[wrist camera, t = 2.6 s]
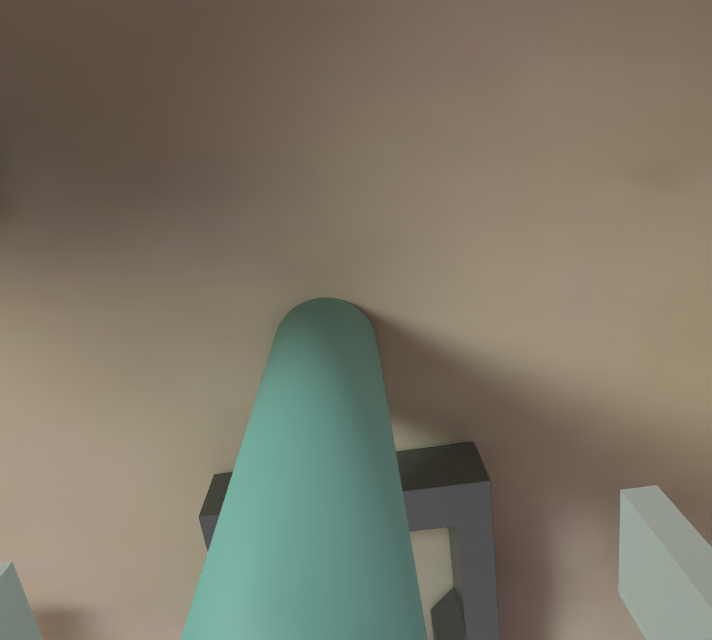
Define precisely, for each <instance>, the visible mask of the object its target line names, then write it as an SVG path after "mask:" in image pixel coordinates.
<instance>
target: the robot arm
mask: <svg viewBox="0 0 712 640" xmlns="http://www.w3.org/2000/svg"><path fill="white" fill-rule="evenodd" d="M618 593H619V595H620V597H621V598H622V600H623V602H624V604H625V605H626V607H627V609H628V610H629V612H630V614H631V615H632V617H633V619H634V620H635V622H636V624H637V626H638V627H639V629H640V631H641V632H642V634H643V636H644V637H645V639H646V640H712V547H711V546H710V545H709V544H708V543H707V541H706V540H705V539H704V538H703V537H702V536H701V535H700V534H699V532H698V531H697V530H696V529H695V528H694V527H693V526H692V524H691V523H690V522H689V521H688V520H687V519H686V518H685V516H684V515H683V514H682V513H681V512H680V511H679V510H678V509H677V507H676V506H675V505H674V504H673V503H672V502H671V501H670V499H669V498H668V497H667V496H666V495H665V494H664V493H663V492H662V490H661V489H660V488H659V487H658V486H657V485H655V486H646V487H638V488H630V489H621V490H620V539H619V591H618ZM0 640H43V639H42V637H41V634H40V631H39V629H38V626H37V624H36V621H35V619H34V616H33V614H32V611H31V608H30V606H29V603H28V601H27V598H26V596H25V593H24V591H23V588H22V585H21V583H20V580H19V578H18V575H17V573H16V570H15V567H14V565H13V562H5V563H0Z"/></svg>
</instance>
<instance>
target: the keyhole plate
mask: <svg viewBox="0 0 712 640" xmlns="http://www.w3.org/2000/svg"><path fill="white" fill-rule="evenodd" d="M396 456H397V462H398V468H399V474H400V480H401V486H402V491H403V497H404V503H405V509H406V515H407V521H408V527H409V532H410V531H418V530H426V529H434V528H442V527H449V538H450V548H451V559H452V570H453V581H454V588H453V589H451V590H450V591H449V592H448V593H447V594H446V595H445V596H444V597H443V598H442V599H441V600H440V601H439V602H438V603H437V604H436V605H435V606H434V607H433V608H432V609H431V618H432V628H433V637H434V640H500V635H499V619H498V602H497V586H496V570H495V553H494V537H493V520H492V504H491V488H490V479H489V477H488V475H487V472H486V470H485V467H484V465H483V463H482V460H481V458H480V456H479V453H478V451H477V448H476V446H475V444H474V442H469V443H461V444H453V445H445V446H437V447H429V448H421V449H413V450H405V451H398V452H396ZM232 473H233V472H230V473H222V474H214V476H213V479H212V482H211V484H210V487H209V490H208V493H207V495H206V498H205V501H204V504H203V506H202V509H201V512H200V515H199V520H200V524H201V528H202V532H203V535H204V539H205V543H206V547H207V551H208V550H209V547H210V544H211V541H212V538H213V534H214V531H215V528H216V525H217V521H218V518H219V515H220V512H221V509H222V505H223V502H224V499H225V496H226V493H227V489H228V486H229V483H230V480H231V477H232Z"/></svg>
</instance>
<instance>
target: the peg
mask: <svg viewBox="0 0 712 640" xmlns="http://www.w3.org/2000/svg"><path fill="white" fill-rule="evenodd" d="M181 640H427V634H426V628H425V622H424V616H423V610H422V604H421V598H420V592H419V586H418V581H417V575H416V569H415V563H414V557H413V551H412V545H411V539H410V533H409V527H408V521H407V515H406V509H405V503H404V497H403V491H402V486H401V480H400V474H399V468H398V462H397V456H396V450H395V444H394V438H393V432H392V426H391V420H390V414H389V408H388V402H387V396H386V391H385V385H384V379H383V373H382V367H381V361H380V355H379V349H378V343H377V338H376V333H375V331H374V328H373V326H372V324H371V322H370V321H369V319H368V318H367V317H366V316H365V315H364V314H363V313H362V312H361V311H360V310H359V309H358V308H356V307H355V306H353V305H351V304H349V303H347V302H345V301H341V300H338V299H332V298H319V299H313V300H310V301H307V302H304V303H302V304H300V305H298V306H297V307H295V308H293V309H292V310H291V311H290V312H289V313H288V314H287V315H286V316H285V317H284V318H283V320H282V321H281V323H280V325H279V327H278V329H277V332H276V335H275V338H274V342H273V345H272V348H271V351H270V355H269V358H268V361H267V364H266V367H265V371H264V374H263V377H262V380H261V383H260V387H259V390H258V393H257V396H256V399H255V403H254V406H253V409H252V412H251V416H250V419H249V422H248V425H247V428H246V432H245V435H244V438H243V441H242V444H241V448H240V451H239V454H238V457H237V460H236V464H235V467H234V470H233V473H232V477H231V480H230V483H229V486H228V489H227V493H226V496H225V499H224V502H223V505H222V509H221V512H220V515H219V518H218V521H217V525H216V528H215V531H214V534H213V538H212V541H211V544H210V547H209V550H208V554H207V557H206V560H205V563H204V566H203V570H202V573H201V576H200V579H199V583H198V586H197V589H196V592H195V595H194V599H193V602H192V605H191V608H190V611H189V615H188V618H187V621H186V624H185V627H184V631H183V634H182V637H181Z"/></svg>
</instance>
